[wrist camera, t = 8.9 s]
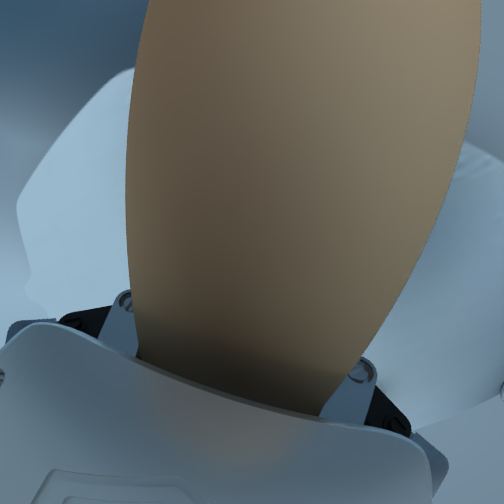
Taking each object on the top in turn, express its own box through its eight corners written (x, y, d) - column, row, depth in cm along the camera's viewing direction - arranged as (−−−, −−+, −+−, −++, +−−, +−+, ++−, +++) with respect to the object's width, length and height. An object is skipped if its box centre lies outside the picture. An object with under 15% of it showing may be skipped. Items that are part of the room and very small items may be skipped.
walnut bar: (393, 44, 7) (479, -27, 1) (269, 401, 18) (245, 485, 12) (263, 14, 8) (179, -82, 2) (204, 381, 19) (167, 460, 13)
